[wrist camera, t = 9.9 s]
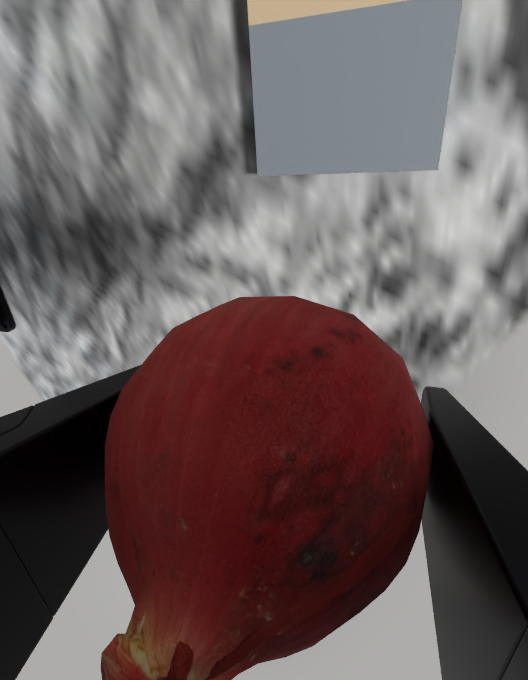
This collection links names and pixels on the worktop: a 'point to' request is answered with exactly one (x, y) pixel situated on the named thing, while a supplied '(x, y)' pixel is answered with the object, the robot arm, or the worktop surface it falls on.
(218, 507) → the onion
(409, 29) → the track
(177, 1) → the worktop surface
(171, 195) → the worktop surface
